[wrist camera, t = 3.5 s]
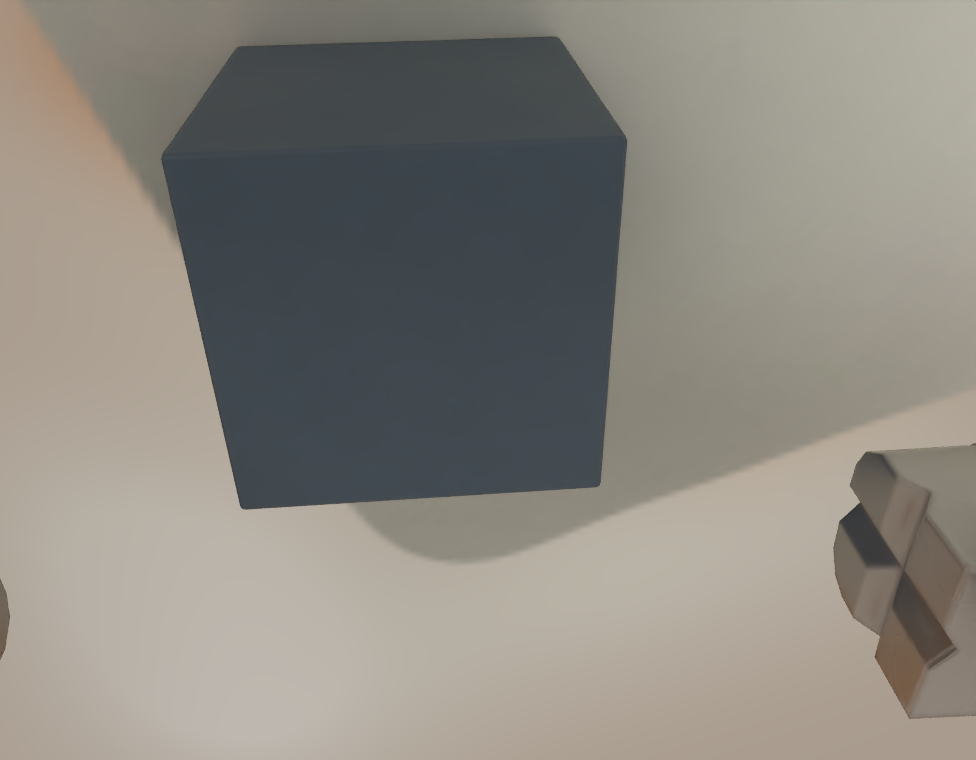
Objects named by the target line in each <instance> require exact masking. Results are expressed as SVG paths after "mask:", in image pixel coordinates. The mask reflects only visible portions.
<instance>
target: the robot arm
mask: <svg viewBox="0 0 976 760" xmlns="http://www.w3.org/2000/svg"><path fill="white" fill-rule="evenodd" d="M850 487H851V488H852V490H853V491H854V493H855V494H856V496H857V497H858V499H859V501H860V503H859V504H858V505H857V506H856V507H855V508H854V509H853V510H851V511H850V512H849V513H848V514H847V515H846V516H845V517H844V518H843V519H841V520H840V522H839V526H838V531H837V535H836V539H835V543H834V561H835V562H834V563H835V575H836V579H837V582H838V585H839V588H840V591H841V595H842V597H843V599H844V601H845V603H846V605H847V607H848V608H849V611H850V612H851V614H852V616H853V618H854V619H856V620H857V621H859V622H860V623H861V624H863V625H864V626H866V627H867V628H869V629H870V630H872V631H873V632H875V633H876V634H878V635H879V636H880V639H879V643H878V646H877V650H876V654H875V658H876V660H877V662H878V664H879V665H880V667H881V669H882V671H883V672H884V674H885V676H886V678H887V680H888V681H889V683H890V685H891V687H892V688H893V690H894V692H895V694H896V696H897V697H898V699H899V701H900V703H901V705H902V706H903V708H904V710H905V712H906V713H907V715H908V717H909V718H910V719H917V718H936V717H937V718H938V717H957V716H958V717H959V716H976V443H975V444H972V445H970V446H949V447H933V448H920V449H919V448H917V449H902V450H886V451H870V452H866V453H865V454H864V455H863V456H862V458H861V459H860V460H859V461H858V463H857V464H856V467H855V470H854V474H853V477H852V480H851V483H850ZM9 619H10V614H9V608H8V601H7V594H6V591H5V589H4V587H3V584H2V582H1V580H0V659H1V657H2V655H3V652H4V650H5V646H6V639H7V633H8V626H9Z"/></svg>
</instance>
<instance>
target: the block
mask: <svg viewBox="0 0 976 760" xmlns="http://www.w3.org/2000/svg"><path fill="white" fill-rule="evenodd" d="M626 149H627V139H626V136H625V135H624V133H623V132H622V130H621V129H620V127H619V126H618V125H617V123H616V122H615V120H614V119H613V117H612V116H611V114H610V113H609V111H608V110H607V108H606V107H605V105H604V104H603V102H602V101H601V99H600V98H599V96H598V95H597V93H596V92H595V91H594V89H593V88H592V86H591V85H590V83H589V82H588V80H587V79H586V77H585V76H584V74H583V73H582V71H581V70H580V68H579V67H578V65H577V64H576V62H575V61H574V59H573V58H572V57H571V55H570V54H569V52H568V51H567V49H566V48H565V46H564V45H563V43H562V42H561V40H560V39H559V38H558V37H533V38H501V39H469V40H437V41H406V42H374V43H342V44H310V45H278V46H246V47H238V48H236V49H235V51H234V52H233V54H232V55H231V57H230V58H229V59H228V61H227V62H226V64H225V65H224V67H223V68H222V70H221V71H220V72H219V74H218V75H217V77H216V78H215V80H214V81H213V82H212V84H211V85H210V87H209V88H208V90H207V91H206V92H205V94H204V95H203V97H202V98H201V100H200V101H199V102H198V104H197V105H196V107H195V108H194V110H193V111H192V113H191V114H190V115H189V117H188V118H187V120H186V121H185V123H184V124H183V125H182V127H181V128H180V130H179V131H178V133H177V134H176V135H175V137H174V138H173V140H172V141H171V143H170V144H169V146H168V147H167V148H166V150H165V151H164V153H163V154H162V158H161V160H162V164H163V169H164V173H165V177H166V182H167V186H168V191H169V195H170V199H171V204H172V208H173V212H174V217H175V221H176V226H177V230H178V234H179V239H180V243H181V248H182V252H183V256H184V261H185V265H186V270H187V274H188V278H189V283H190V287H191V291H192V296H193V300H194V305H195V309H196V314H197V318H198V322H199V327H200V331H201V335H202V340H203V344H204V348H205V353H206V358H207V362H208V366H209V370H210V375H211V379H212V384H213V388H214V393H215V397H216V401H217V406H218V410H219V415H220V419H221V423H222V428H223V432H224V437H225V441H226V445H227V450H228V454H229V458H230V463H231V467H232V472H233V476H234V481H235V485H236V489H237V494H238V498H239V502H240V506H241V508H242V509H261V508H277V507H292V506H307V505H324V504H340V503H355V502H371V501H387V500H402V499H418V498H434V497H450V496H465V495H481V494H497V493H513V492H528V491H544V490H560V489H576V488H591V487H598V486H599V485H600V482H601V470H602V458H603V445H604V432H605V419H606V406H607V393H608V380H609V368H610V355H611V342H612V329H613V316H614V303H615V290H616V278H617V265H618V252H619V239H620V226H621V213H622V200H623V188H624V175H625V162H626Z"/></svg>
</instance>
